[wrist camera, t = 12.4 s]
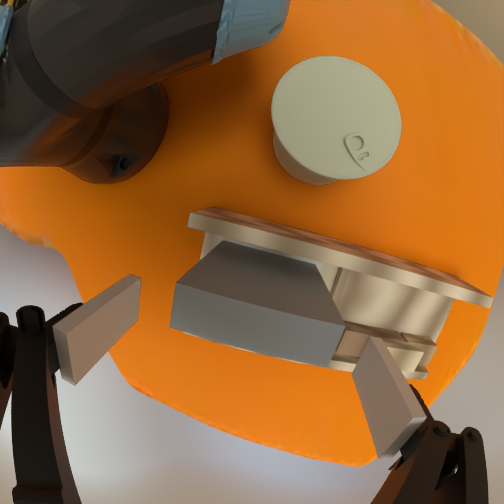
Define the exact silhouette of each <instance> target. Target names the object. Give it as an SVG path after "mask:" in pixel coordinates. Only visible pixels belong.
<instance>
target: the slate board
mask: <svg viewBox="0 0 504 504" xmlns="http://www.w3.org/2000/svg"><path fill="white" fill-rule="evenodd" d="M170 327H171V328H174V329H177V330H180V331H183V332H186V333H190V334H193V335H196V336H199V337H203V338H206V339H209V340H213V341H216V342H220V343H223V344H227V345H231V346H234V347H238V348H242V349H246V350H250V351H254V352H258V353H262V354H266V355H270V356H275V357H279V358H284V359H288V360H293V361H298V362H303V363H308V364H313V365H319V366H324V367H328V365H329V363H330V361H331V359H332V356H333V354H334V352H335V350H336V347H337V345H338V343H339V341H340V338H341V336H342V334H343V331H344V329H345V324H344V322H343V320H342V318H341V315H340V313H339V311H338V309H337V307H336V305H335V303H334V301H333V299H332V297H331V295H330V292H329V290H328V288H327V286H326V284H325V282H324V280H323V278H322V276H321V274H320V272H319V270H318V268H317V266H316V264H312V263H308V262H305V261H301V260H297V259H293V258H289V257H286V256H282V255H278V254H274V253H270V252H267V251H263V250H259V249H255V248H251V247H248V246H244V245H240V244H236V243H232V242H228V241H225V240H222V241H221V242H220V243H219V244H218V245H217V246H216V247H215V248H213V249H212V250H211V251H210V252H209V253H208V254H207V255H206V256H205V257H203V258H202V259H201V260H200V261H199V262H198V263H197V264H196V265H195V266H194V267H192V268H191V269H190V270H189V271H188V272H187V273H186V274H185V275H184V276H183V277H182V278H180V279H179V280H178V281H177V282H176V286H175V292H174V299H173V306H172V313H171V320H170Z"/></svg>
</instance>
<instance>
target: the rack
mask: <svg viewBox="0 0 504 504" xmlns="http://www.w3.org/2000/svg"><path fill="white" fill-rule="evenodd" d="M187 227H188V228H192V229H196V230H200V231H204V232H205V236H204V241H203V246H202V251H201V256H200V260H201V259H202V258H203V257H205V256H206V255H207V254H208V253H209V252H210V251H211V250H212V249H213V248H215V247H216V246H217V245H218V244H219V243H220V242H221V241H222V240H225V241H228V242H232V243H236V244H240V245H244V246H248V247H251V248H255V249H259V250H263V251H267V252H270V253H274V254H278V255H282V256H286V257H289V258H293V259H297V260H301V261H305V262H308V263H312V264H316V266H317V268H318V270H319V272H320V274H321V276H322V278H323V280H324V282H325V284H326V286H327V288H328V290H329V292H330V295H331V297H332V299H333V301H334V303H335V305H336V307H337V309H338V311H339V313H340V315H341V318H342V320H344V321H348V322H353V323H358V324H363V325H368V326H372V327H377V328H382V329H388V330H393V331H398V332H399V333H401V332H403V333H409V334H414V335H420V336H426V337H430V338H431V339H432V340H433V342H434V343H435V342H436V340H437V338H438V336H439V334H440V331H441V329H442V327H443V325H444V323H445V321H446V318H447V316H448V314H449V311H450V309H451V307H452V304H453V302H454V299H459V300H462V301H466V302H469V303H473V304H476V305H480V306H483V307H487V308H490V306H491V304H492V301H493V299H494V298H493V297H491V296H490V295H488V294H486V293H485V292H483V291H481V290H479V289H478V288H476V287H474V286H473V285H471V284H469V283H467V282H466V281H464V280H462V279H460V278H459V277H456V276H453V275H450V274H447V273H444V272H441V271H438V270H435V269H432V268H429V267H426V266H423V265H420V264H417V263H413V262H410V261H407V260H404V259H401V258H398V257H394V256H391V255H388V254H385V253H381V252H378V251H375V250H371V249H368V248H365V247H361V246H358V245H354V244H351V243H347V242H344V241H341V240H337V239H334V238H330V237H326V236H323V235H319V234H316V233H312V232H308V231H305V230H301V229H297V228H294V227H290V226H286V225H282V224H279V223H275V222H271V221H267V220H263V219H259V218H256V217H252V216H248V215H244V214H240V213H236V212H232V211H227V210H223V209H219V208H215V207H211V208H207V209H203V210H199V211H195V212H191V213H190V216H189V221H188V226H187ZM183 333H186V332H183ZM186 334H189V335H192V336H196V335H193V334H190V333H186ZM196 337H199V336H196ZM199 338H202V339H206V338H203V337H199ZM206 340H209V339H206ZM209 341H212V342H216V341H213V340H209ZM216 343H219V344H223V343H220V342H216ZM223 345H227V344H223ZM227 346H230V347H234V346H231V345H227ZM234 348H238V347H234ZM238 349H242V348H238ZM242 350H245V351H249V352H253V353H258V352H254V351H250V350H246V349H242ZM258 354H262V353H258ZM262 355H266V354H262ZM266 356H270V355H266ZM270 357H275V356H270ZM275 358H279V357H275ZM359 358H360V357H356V356H350V355H344V354H338V353H336V352H334V354H333V356H332V359H331V361H330V363H329V365H328V367H324V366H319V365H313V364H308V363H303V362H298V361H293V360H288V359H284V358H279V359H284V360H288V361H293V362H298V363H303V364H308V365H313V366H319V367H324V368H330V369H336V370H342V371H349V372H353V370H354V368H355V366H356V364H357V362H358V360H359ZM401 372H402V373H403V375H404V377H405V378H409V379H422V380H425V378H426V377H427V375H428V373H429V372H428V371H427V369H426V368H425V367H424V366H422V365H417V367H416V369H415V370H414V372H407V371H401Z"/></svg>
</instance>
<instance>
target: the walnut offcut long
mask: <svg viewBox="0 0 504 504" xmlns="http://www.w3.org/2000/svg"><path fill="white" fill-rule="evenodd" d="M343 322H344V324H345V329H344V331H343V334H342V336H341V338H340V341H339V343H338V345H337V347H336V350H335V352H336V353H338V354H344V355H350V356H356V357H360V355H361V353H362V351H363V349H364V347H365V345H366V343H367V340H368V338H369V336H374V337H380V338H385V339H391V340H396V341H402V342H405V340H404V339H403V337H402V336H401V335H400V333H399V332H398V331H393V330H388V329H382V328H377V327H372V326H368V325H363V324H358V323H353V322H348V321H344V320H343Z"/></svg>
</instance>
